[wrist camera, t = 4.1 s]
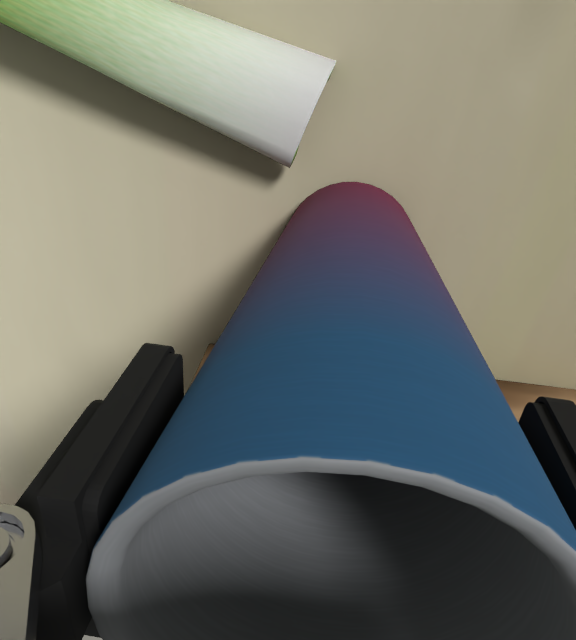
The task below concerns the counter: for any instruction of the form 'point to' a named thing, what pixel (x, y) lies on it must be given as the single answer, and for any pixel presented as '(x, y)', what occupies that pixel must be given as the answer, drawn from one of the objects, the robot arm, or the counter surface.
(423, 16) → the counter surface
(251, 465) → the cup
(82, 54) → the leek
